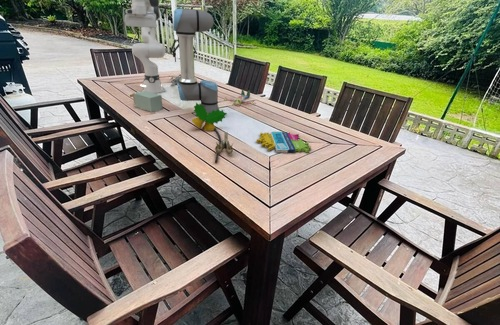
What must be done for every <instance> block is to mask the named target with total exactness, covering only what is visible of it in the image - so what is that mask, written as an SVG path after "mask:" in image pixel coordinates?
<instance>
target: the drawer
mask: <svg viewBox="0 0 500 325" xmlns="http://www.w3.org/2000/svg"><path fill="white" fill-rule="evenodd" d="M129 97H130V98H133V105H134V106H135V100H134V94H133V93H132V94H129Z"/></svg>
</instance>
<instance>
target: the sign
mask: <svg viewBox="0 0 500 325" xmlns="http://www.w3.org/2000/svg"><path fill="white" fill-rule="evenodd" d="M299 136H300V135H299V134H298V133H296V134H294V133H291V132H287V131H270V132H264V133H263V132H260V133H259V139H258V138H257V139H256V143H257V144H261V148H263V147H264V148H265V149H267V151H268V152H271V151H272V150H273V149H275V152H276V153H283V154H285V153H287V154H288V153H290V154H293V153H296V152H298V153H301V152H305V153H310V151H311V150H312V149H311V148H312V146H309V142H304V141H303V139H302V138H299Z"/></svg>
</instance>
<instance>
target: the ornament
mask: <svg viewBox="0 0 500 325" xmlns="http://www.w3.org/2000/svg"><path fill="white" fill-rule="evenodd" d="M219 110H220V108H219V109H217V110H216V111H214V110H212V112H211V113H208V112H206V109H204V106H201V103H198V102H196V101H195V105H194V106H193V112H194V113H195V118H192V119H191V122H192V123H193V125H195V127H197V128H198V129H202V130H203V131H206V132H212V131H213V132H214V131H215V130H214V128H215V129H216V126H215V124H218V123H219V122H223V119H226V115H227V114H228V113H227V112H224V110H223V109H221V110H220V111H219ZM207 113H208V115H207ZM214 123H215V124H214Z"/></svg>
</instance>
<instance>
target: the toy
mask: <svg viewBox="0 0 500 325" xmlns="http://www.w3.org/2000/svg"><path fill="white" fill-rule="evenodd" d="M240 92H241V93H240V95H238V96H237V97H235V99H233V98H230V99H228V98H227V97H226V96H225V97H224V98H223V101H224V102H233V103H232V104H233V105H235V106H242V103H243V104H247V105H252V106H255V105H256V104H257V103H256V102H254V101H253V100H252V101H251V102H250V101H248V100H246V99H248V98H250V97H251V90H250V89H249V90H248V91H247V92H246V93H245V91H244V89H242V90H241V91H240Z"/></svg>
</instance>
